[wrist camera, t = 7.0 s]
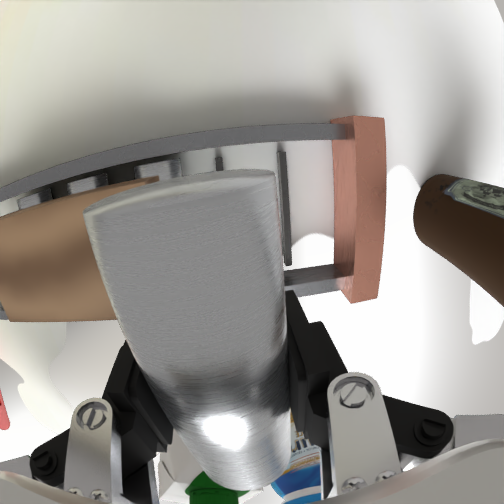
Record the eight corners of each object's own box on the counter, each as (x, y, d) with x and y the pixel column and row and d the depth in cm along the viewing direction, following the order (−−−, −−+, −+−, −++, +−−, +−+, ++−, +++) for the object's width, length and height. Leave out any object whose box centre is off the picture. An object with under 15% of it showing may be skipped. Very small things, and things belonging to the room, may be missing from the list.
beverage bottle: (248, 414, 38) (264, 529, 19) (272, 383, 35) (302, 514, 17) (293, 420, 40) (320, 522, 21) (321, 390, 37) (363, 503, 19)
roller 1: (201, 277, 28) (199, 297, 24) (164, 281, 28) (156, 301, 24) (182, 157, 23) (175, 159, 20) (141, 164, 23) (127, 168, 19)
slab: (180, 289, 24) (174, 315, 20) (27, 302, 22) (9, 321, 19) (158, 175, 20) (144, 181, 16) (-1, 217, 19) (-25, 229, 15)
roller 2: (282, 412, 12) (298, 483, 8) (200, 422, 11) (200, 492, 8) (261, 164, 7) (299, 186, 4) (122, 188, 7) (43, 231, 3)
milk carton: (251, 355, 33) (277, 508, 14) (225, 396, 35) (235, 525, 17) (183, 336, 30) (165, 500, 12) (165, 381, 33) (149, 516, 15)
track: (356, 276, 30) (377, 298, 25) (-3, 311, 27) (-19, 329, 22) (357, 120, 23) (384, 118, 19) (-37, 204, 20) (-60, 214, 16)
